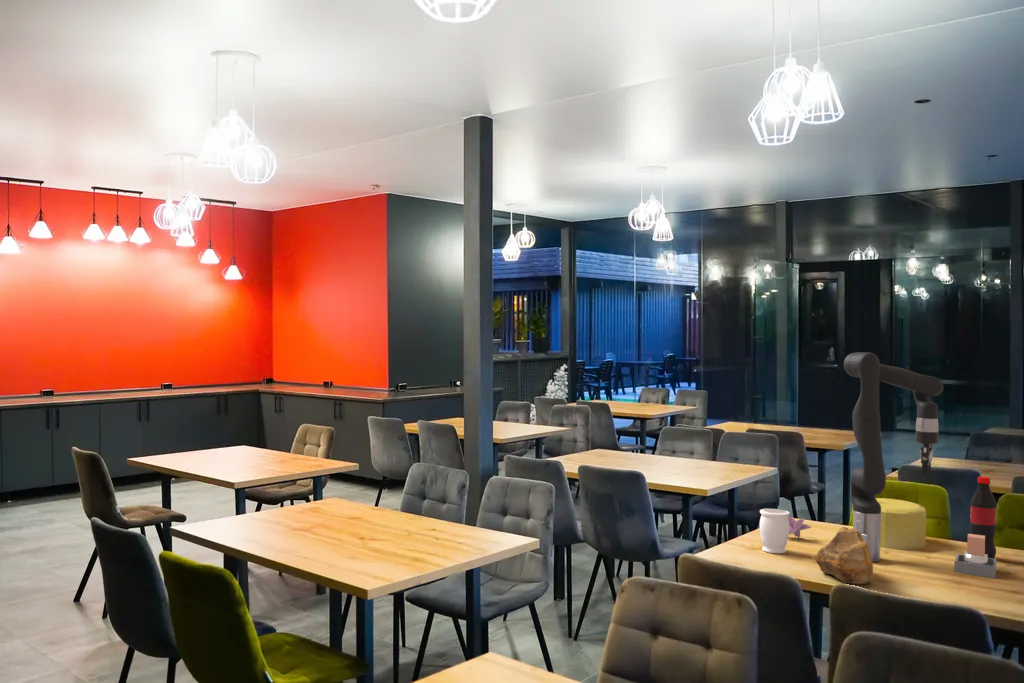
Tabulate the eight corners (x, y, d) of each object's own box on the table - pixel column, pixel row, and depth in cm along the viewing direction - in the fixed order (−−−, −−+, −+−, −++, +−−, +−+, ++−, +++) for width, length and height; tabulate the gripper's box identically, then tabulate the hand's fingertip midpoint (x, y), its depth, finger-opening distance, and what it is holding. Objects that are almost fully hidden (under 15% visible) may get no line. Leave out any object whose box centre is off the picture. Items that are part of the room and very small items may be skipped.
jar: (758, 552, 297) (758, 512, 297) (760, 546, 306) (761, 507, 306) (788, 556, 293) (788, 515, 293) (789, 549, 302) (790, 509, 302)
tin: (981, 575, 269) (981, 557, 269) (959, 570, 275) (960, 552, 275) (991, 571, 273) (991, 554, 273) (969, 566, 279) (970, 549, 279)
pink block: (984, 556, 271) (984, 538, 271) (967, 554, 273) (967, 536, 273) (984, 553, 275) (984, 535, 275) (968, 550, 277) (968, 533, 277)
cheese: (838, 536, 325) (839, 499, 325) (886, 531, 335) (886, 495, 335) (891, 552, 301) (892, 512, 301) (941, 546, 311) (941, 507, 311)
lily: (815, 543, 317) (810, 519, 322) (807, 536, 308) (802, 512, 313) (785, 548, 322) (781, 524, 327) (776, 542, 314) (772, 518, 319)
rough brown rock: (811, 567, 281) (808, 525, 281) (861, 566, 278) (858, 524, 278) (823, 589, 258) (820, 543, 258) (878, 589, 255) (874, 542, 255)
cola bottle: (994, 556, 296) (995, 476, 296) (997, 562, 288) (998, 479, 288) (968, 553, 300) (969, 474, 299) (970, 559, 292) (971, 477, 292)
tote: (995, 580, 266) (995, 567, 266) (954, 574, 272) (954, 561, 272) (996, 572, 276) (996, 559, 276) (956, 566, 282) (956, 553, 282)
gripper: (936, 432, 291) (936, 477, 291) (939, 429, 303) (939, 471, 303) (913, 431, 295) (913, 474, 295) (917, 427, 307) (917, 469, 307)
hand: (926, 473), depth 299 cm, fingers open, 8 cm apart
